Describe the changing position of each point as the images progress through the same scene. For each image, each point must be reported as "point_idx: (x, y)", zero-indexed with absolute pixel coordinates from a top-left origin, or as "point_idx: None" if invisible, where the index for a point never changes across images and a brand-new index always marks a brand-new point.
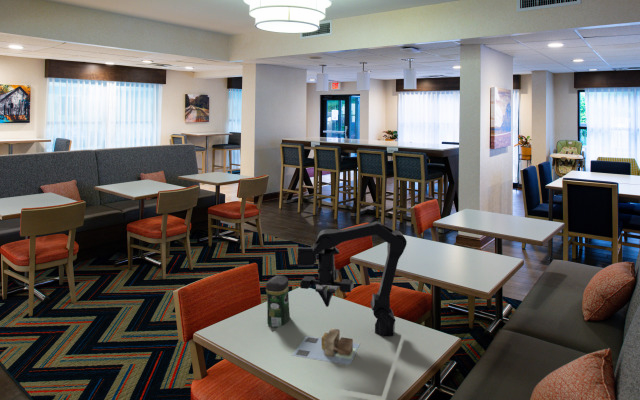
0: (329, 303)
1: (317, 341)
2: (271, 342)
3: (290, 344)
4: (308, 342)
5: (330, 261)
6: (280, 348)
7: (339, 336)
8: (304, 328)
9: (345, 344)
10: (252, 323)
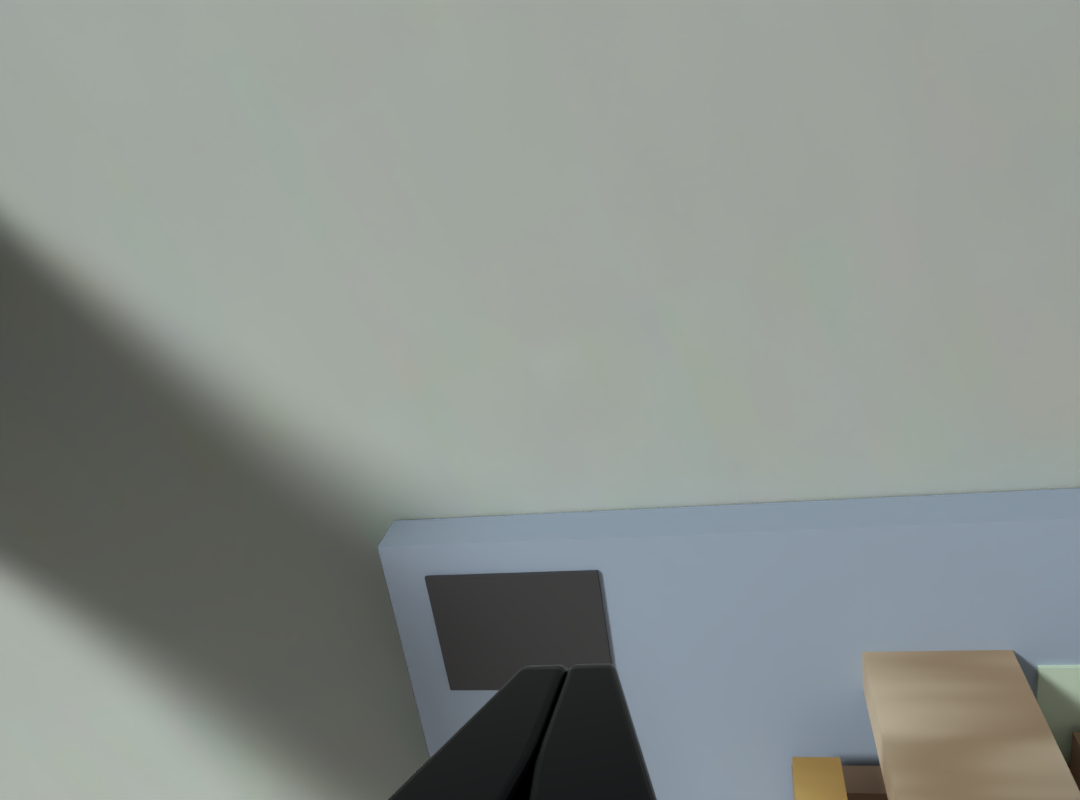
0: (633, 732)
1: (615, 639)
2: (77, 717)
3: (293, 697)
4: None
5: None
6: (252, 797)
7: (1073, 790)
8: (168, 224)
9: None
10: None
